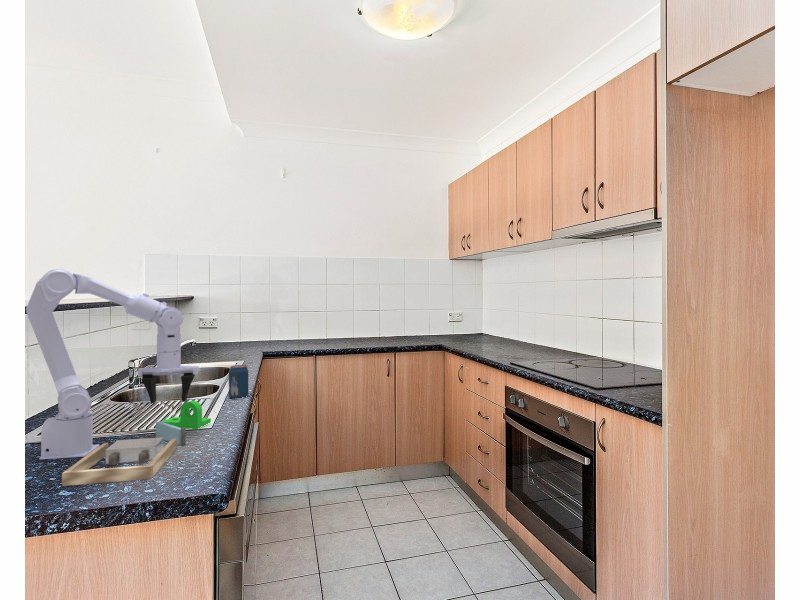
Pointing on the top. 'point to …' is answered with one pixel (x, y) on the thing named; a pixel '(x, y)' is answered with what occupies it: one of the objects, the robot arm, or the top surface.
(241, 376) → the dark blue carton
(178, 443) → the bar
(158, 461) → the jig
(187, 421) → the mechanical part
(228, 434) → the top surface
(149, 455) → the block
